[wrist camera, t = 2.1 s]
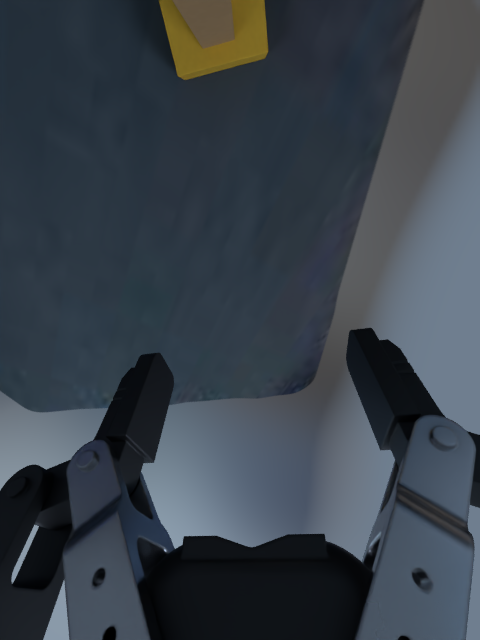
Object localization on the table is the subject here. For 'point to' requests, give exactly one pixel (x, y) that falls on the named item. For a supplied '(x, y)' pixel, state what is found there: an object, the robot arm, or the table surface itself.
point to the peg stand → (214, 34)
